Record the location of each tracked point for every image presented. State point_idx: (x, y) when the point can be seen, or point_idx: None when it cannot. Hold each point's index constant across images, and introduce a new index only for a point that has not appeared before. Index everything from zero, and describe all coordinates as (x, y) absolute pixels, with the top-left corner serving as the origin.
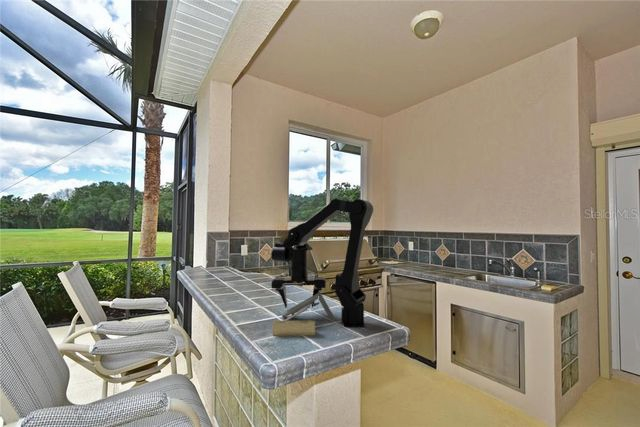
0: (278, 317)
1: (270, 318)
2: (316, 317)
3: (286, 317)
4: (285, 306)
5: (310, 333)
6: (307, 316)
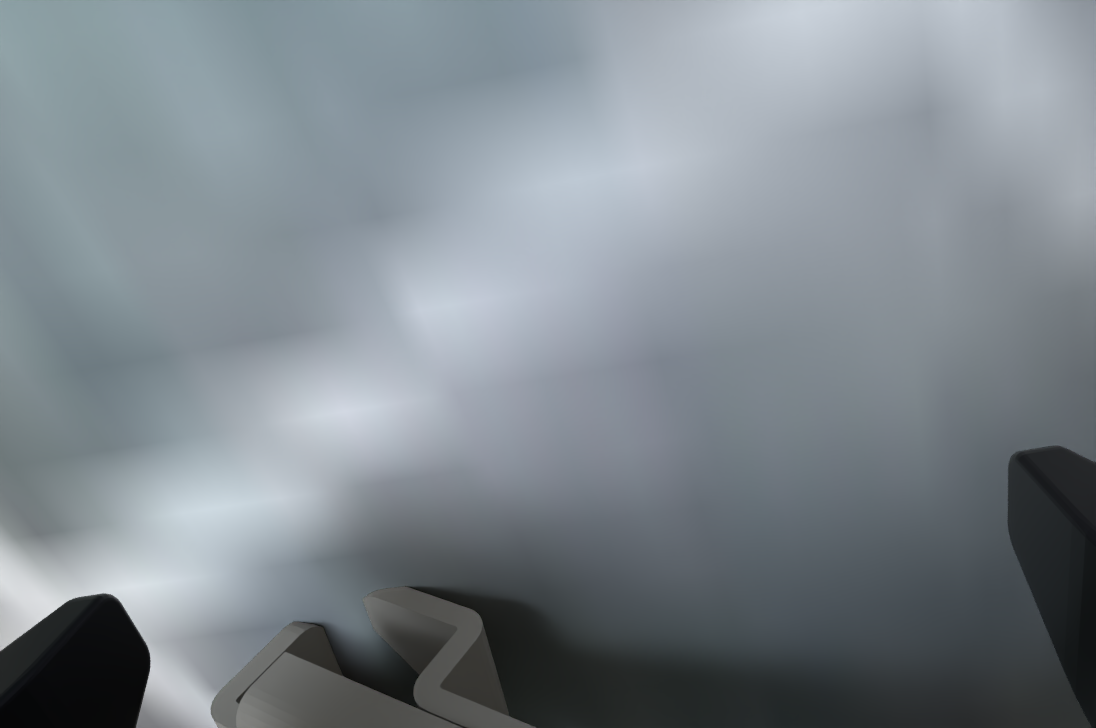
0: None
1: None
2: None
3: (325, 658)
4: (112, 717)
5: None
6: (812, 507)
